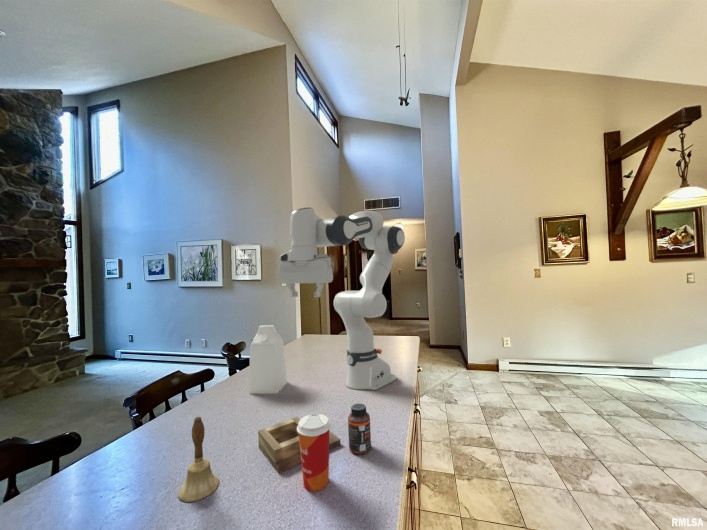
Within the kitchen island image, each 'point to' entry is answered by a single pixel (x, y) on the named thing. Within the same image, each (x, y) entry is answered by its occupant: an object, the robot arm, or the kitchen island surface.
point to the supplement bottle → (359, 429)
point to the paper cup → (314, 451)
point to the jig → (285, 444)
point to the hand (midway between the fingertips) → (305, 296)
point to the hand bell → (198, 470)
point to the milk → (267, 362)
